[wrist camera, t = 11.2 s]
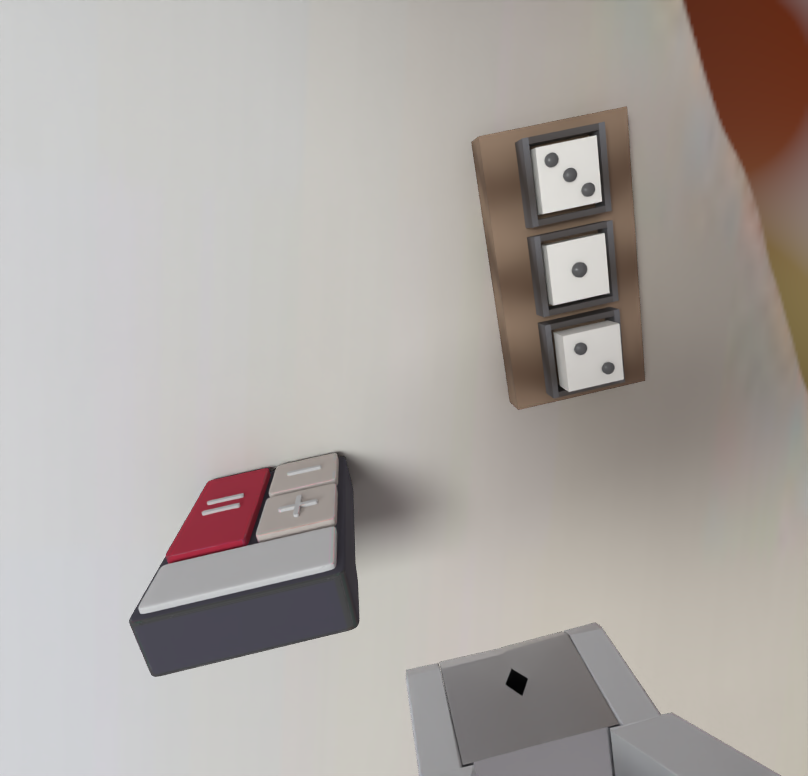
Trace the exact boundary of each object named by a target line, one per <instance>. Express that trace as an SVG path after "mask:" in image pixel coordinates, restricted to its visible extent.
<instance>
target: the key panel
mask: <svg viewBox="0 0 808 776" xmlns="http://www.w3.org/2000/svg"><path fill="white" fill-rule="evenodd" d="M595 135H597V146H598V159H599V171H600V183H601V195H602V202H598V203H593V204H588V205H584V206H579V207H574V208H569V209H565V210H560V211H555V212H551V213H546V214H540V215H537V207H536V199H535V190H534V182H533V173H532V165H531V156H530V150H532V149H534V148H537V147H542V146H546V145H551V144H556V143H561V142H566V141H571V140H576V139H581V138H585V137H590V136H595ZM471 143H472V150H473V157H474V163H475V170H476V177H477V184H478V190H479V197H480V204H481V210H482V217H483V224H484V231H485V237H486V244H487V251H488V258H489V264H490V271H491V278H492V284H493V291H494V298H495V305H496V311H497V318H498V325H499V332H500V338H501V345H502V352H503V359H504V365H505V372H506V379H507V385H508V392H509V399H510V403H511V404H513V405H514V406H515V407H516V408H517V409H518V410H520V409H524V408H529V407H533V406H537V405H542V404H546V403H550V402H555V401H559V400H563V399H568V398H572V397H576V396H581V395H585V394H589V393H594V392H598V391H602V390H606V389H611V388H615V387H619V386H624V385H628V384H632V383H637V382H641V381H645V372H644V357H643V342H642V327H641V312H640V297H639V282H638V267H637V252H636V236H635V221H634V206H633V191H632V176H631V161H630V146H629V131H628V115H627V106H626V107H621V108H616V109H612V110H607V111H602V112H597V113H592V114H587V115H582V116H577V117H572V118H567V119H562V120H557V121H552V122H547V123H543V124H538V125H533V126H528V127H523V128H518V129H513V130H508V131H503V132H498V133H493V134H488V135H483V136H479V137H477V138H476V139H475V140H474V141H472V142H471ZM595 233H605V243H606V255H607V267H608V279H609V291H610V293H607V294H603V295H598V296H594V297H589V298H585V299H580V300H576V301H571V302H567V303H562V304H558V305H550V304H548V300H547V291H546V283H545V274H544V266H543V258H542V249H541V245H543V244H547V243H552V242H557V241H561V240H566V239H571V238H575V237H580V236H584V235H589V234H595ZM607 320H609V321H612V322H616V323H619V324H620V337H621V350H622V363H623V375H624V379H623V380H619V381H614V382H610V383H606V384H601V385H597V386H593V387H588V388H584V389H580V390H575V391H571V392H568V391H567V390H565V389H564V388H562V387H561V386H560V384H559V375H558V367H557V358H556V350H555V341H554V333H553V332H558V331H562V330H567V329H571V328H575V327H580V326H584V325H589V324H593V323H598V322H602V321H607Z"/></svg>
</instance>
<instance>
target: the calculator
mask: <svg viewBox="0 0 808 776" xmlns="http://www.w3.org/2000/svg"><path fill="white" fill-rule="evenodd" d="M129 623H130V626H131V628H132V631H133V633H134V635H135V638H136V640H137V643H138V645H139V647H140V650H141V652H142V654H143V657H144V659H145V661H146V664H147V666H148V668H149V671H150V673H151V675H152V676H155V677H157V676H162V675H167V674H171V673H175V672H179V671H183V670H187V669H191V668H196V667H200V666H204V665H208V664H212V663H216V662H220V661H225V660H229V659H233V658H237V657H241V656H245V655H249V654H254V653H258V652H262V651H266V650H270V649H274V648H278V647H283V646H287V645H291V644H295V643H299V642H303V641H308V640H312V639H316V638H320V637H324V636H328V635H332V634H337V633H341V632H345V631H349V630H352V629H354V628H356V627H357V626H358V624H359V597H358V579H357V571H356V564H355V534H354V503H353V487H352V482H351V478H350V474H349V470H348V466H347V462H346V458H345V457H344V456H339V457H338V455H337V453H331V454H327V455H322V456H318V457H313V458H309V459H304V460H300V461H295V462H291V463H286V464H282V465H279V466H277V467H276V470H275V471H271V472H270V471H269V468H264V469H259V470H255V471H250V472H246V473H241V474H237V475H232V476H228V477H223V478H219V479H214V480H211V481H208V483H207V484H206V486H205V487H204V489H203V491H202V493H201V494H200V496H199V498H198V499H197V501H196V503H195V505H194V506H193V508H192V510H191V512H190V513H189V515H188V517H187V518H186V520H185V522H184V524H183V525H182V527H181V529H180V531H179V532H178V534H177V536H176V537H175V539H174V541H173V543H172V544H171V546H170V548H169V550H168V551H167V553H166V557H165V558H164V560H163V562H162V563H161V565H160V567H159V569H158V570H157V572H156V574H155V576H154V577H153V579H152V581H151V583H150V584H149V586H148V588H147V590H146V591H145V593H144V595H143V597H142V598H141V600H140V602H139V603H138V605H137V607H136V609H135V610H134V612H133V614H132V616H131V618H130V620H129Z"/></svg>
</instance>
